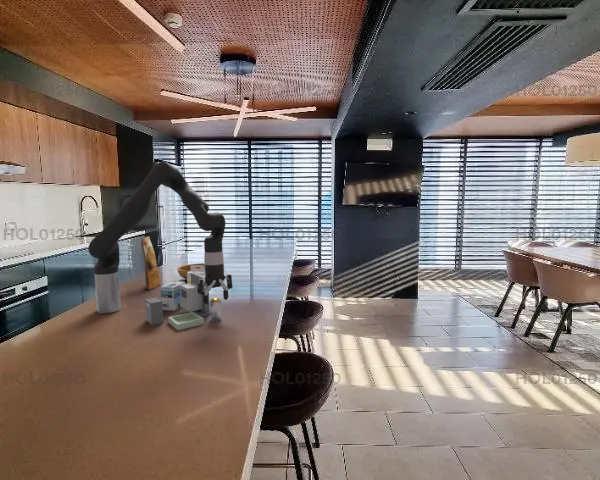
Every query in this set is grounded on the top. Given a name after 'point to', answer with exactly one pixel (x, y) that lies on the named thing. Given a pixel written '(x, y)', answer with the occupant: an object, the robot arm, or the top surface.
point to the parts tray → (185, 320)
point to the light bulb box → (171, 295)
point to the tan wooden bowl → (186, 269)
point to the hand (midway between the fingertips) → (216, 301)
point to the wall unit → (194, 296)
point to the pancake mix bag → (150, 264)
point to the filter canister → (215, 309)
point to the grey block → (154, 311)
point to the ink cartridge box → (196, 270)
